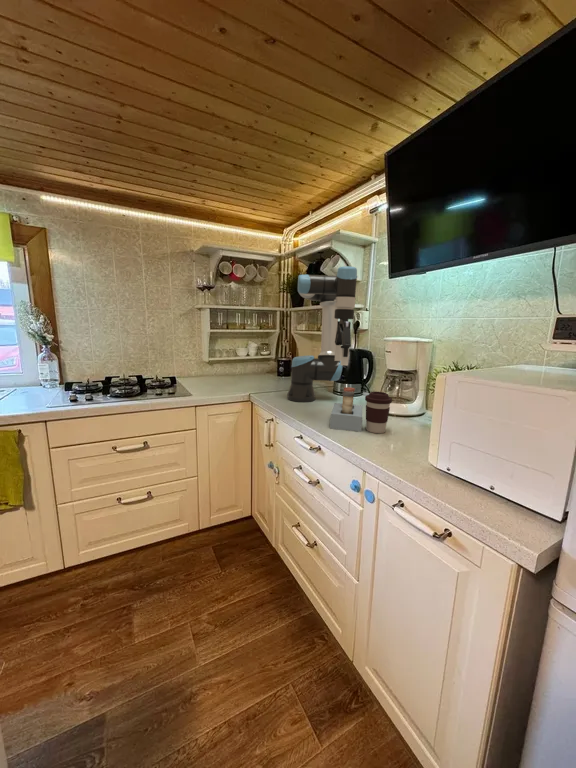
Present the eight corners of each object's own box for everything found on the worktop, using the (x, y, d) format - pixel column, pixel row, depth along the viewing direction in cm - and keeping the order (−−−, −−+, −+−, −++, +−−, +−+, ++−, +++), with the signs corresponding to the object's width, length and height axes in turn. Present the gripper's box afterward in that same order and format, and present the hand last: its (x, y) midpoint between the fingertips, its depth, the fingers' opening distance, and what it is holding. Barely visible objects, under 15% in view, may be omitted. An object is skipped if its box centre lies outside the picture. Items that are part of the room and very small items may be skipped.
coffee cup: (393, 430, 125) (396, 393, 123) (381, 436, 118) (385, 397, 115) (370, 424, 132) (373, 389, 129) (357, 430, 125) (360, 392, 122)
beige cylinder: (341, 412, 130) (342, 391, 129) (352, 413, 129) (354, 392, 128) (340, 415, 126) (342, 393, 124) (352, 416, 125) (354, 394, 123)
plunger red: (342, 407, 139) (344, 386, 137) (353, 408, 138) (355, 387, 136) (342, 409, 135) (343, 389, 133) (353, 410, 134) (354, 389, 132)
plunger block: (333, 416, 143) (334, 403, 142) (361, 418, 140) (362, 405, 139) (329, 428, 126) (330, 413, 124) (361, 431, 123) (362, 416, 122)
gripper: (330, 309, 136) (327, 358, 140) (341, 307, 112) (337, 367, 116) (347, 310, 137) (344, 359, 141) (362, 308, 112) (357, 367, 116)
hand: (340, 363), depth 128 cm, fingers open, 13 cm apart
